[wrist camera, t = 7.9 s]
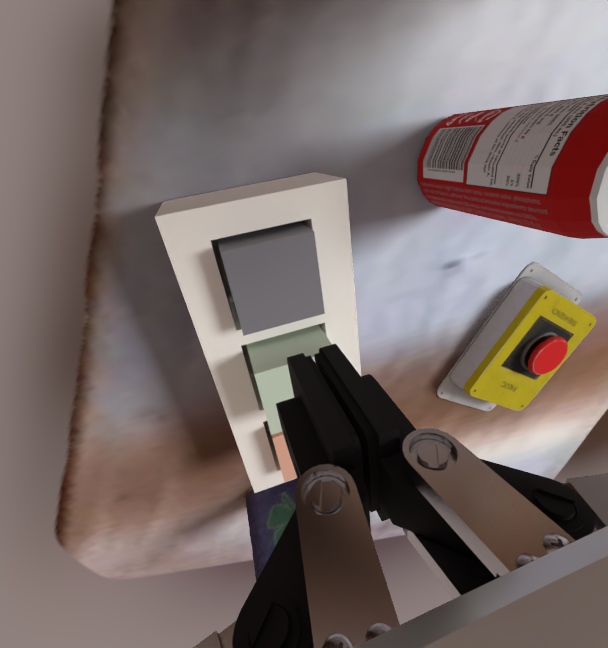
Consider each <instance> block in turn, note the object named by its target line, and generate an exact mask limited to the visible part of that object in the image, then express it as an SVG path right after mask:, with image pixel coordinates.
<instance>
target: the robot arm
mask: <svg viewBox="0 0 608 648" xmlns="http://www.w3.org/2000/svg"><path fill="white" fill-rule="evenodd" d="M314 357H315V362H314V360H313V359H312V357H311V356H306V357H305V355H304V353H301V354H297V355H294V356H290V357H287V363H288V368H289V374H290V379H291V384H292V389H293V394H294V398H291V399H288V400H285V401H282V402H279V403H276V407H277V411H278V416H279V420H280V424H281V428H282V431H283V435H284V438H285V442H286V445H287V448H288V451H289V454H290V457H291V460H292V463H293V466H294V469H295V472H296V475H297V478H298V482H297V485H296V487H295V505H296V509H295V511H294V513H293V514H292V516H291V518H290V520H289V522H288V524H287V526H286V527H285V529H284V531H283V533H282V535H281V537H280V539H279V540H278V542H277V544H276V546H275V548H274V550H273V552H272V553H271V555H270V557H269V559H268V561H267V563H266V565H265V566H264V568H263V570H262V572H261V574H260V576H259V578H258V579H257V581H256V583H255V585H254V587H253V589H252V591H251V593H250V594H249V596H248V598H247V600H246V602H245V604H244V605H243V607H242V609H241V611H240V614H239V616H238V619H237V620H236V621H235V622H234V623H232V624H231V625H230V626H228V627H227V628H226V629H224V630H223V631H222V632H220V633H219V634H218V633H217V631H215V632H213V633H212V634H211V635H209V636H208V637H207V638H205V639H204V640H203V641H201V642H200V643H199V644H197V645H196V646H195V647H193V648H608V473H606V474H599V475H591V476H584V477H576V478H569V479H567V480H566V483H563V484H562V483H560V482H557V481H555V480H552V479H549V478H546V477H542V476H539V475H535V474H531V473H528V472H524V471H521V470H517V469H514V468H510V467H507V466H503V465H500V464H496V463H493V462H489V461H485V460H482V459H479V458H478V457H476V456H475V455H474V454H473V453H472V452H471V451H469V450H468V449H467V448H466V447H465V446H463V445H462V444H461V443H460V442H459V441H458V440H456V439H455V438H454V437H452V436H451V435H449V434H448V433H446V432H443V431H441V430H438V429H431V428H424V429H418V430H416V429H415V428H414V426H413V425H412V424H411V423H410V421H409V420H408V419H407V418H406V417H405V415H404V414H403V413H402V412H401V410H400V409H399V408H398V407H397V405H396V404H395V403H394V402H393V401H392V399H391V398H390V397H389V396H388V394H387V393H386V392H385V391H384V390H383V388H382V387H381V386H380V385H379V383H378V382H377V381H376V380H375V379H374V377H373V376H372V375H369V374H368V375H365V376H362V377H361V376H360V375H359V373H358V372H357V371H356V369H355V368H354V367H353V365H352V364H351V363H350V361H349V360H348V359H347V358H346V356H345V355H344V354H343V352H342V351H341V350H340V348H339V347H338V346H337V345H336V344H332V345H329V346H325V347H322V348H319V353H316V354H315V355H314ZM369 510H370V511H371V512H373V511H377V513H378V515H379V517H380V518H381V520H382V521H384V520H387V519H389V518H390V520H391V522H392V523H393V524H394V525H397V526H399V527H402V528H403V531H404V532H405V534H406V536H407V538H408V539H409V540H410V542H411V543H412V545H413V546H414V547H415V549H416V550H417V551H418V553H419V554H420V555H421V557H422V558H423V559H424V561H425V562H426V563H427V565H428V566H429V568H430V569H431V570H432V571H433V573H434V574H435V575H436V577H437V578H438V580H439V581H440V582H441V584H442V585H443V586H444V588H445V589H446V590H447V592H448V593H449V594H450V596H451V597H452V599H453V600H451V601H449V602H447V603H445V604H443V605H441V606H439V607H436V608H434V609H432V610H430V611H428V612H426V613H424V614H422V615H420V616H418V617H416V618H414V619H412V620H410V621H408V622H405V623H404V624H401V625H400V624H399V621H398V618H397V614H396V611H395V608H394V605H393V602H392V599H391V595H390V592H389V589H388V586H387V583H386V579H385V576H384V573H383V570H382V567H381V564H380V560H379V557H378V554H377V551H376V548H375V545H374V541H373V538H372V535H371V528H370V514H369Z"/></svg>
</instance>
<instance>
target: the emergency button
mask: <svg viewBox="0 0 608 648" xmlns="http://www.w3.org/2000/svg"><path fill="white" fill-rule="evenodd" d="M581 296H582V295H581V293H580V292H579V291H578V290H576V289H575V288H573V287H572V286H571V285H569V284H568V283H566V282H565V281H563V280H562V279H560V278H559V277H558V276H556V275H555V274H553V273H552V272H550V271H549V270H548V269H546V268H545V267H543V266H542V265H540V264H539V263H535V262H533V263H531V264H529V265H527V266H526V267H525V268H524V269H523V271H522V272H521V273H520V275H519V276H518V278H517V279H516V280H515V282H514V283H513V284H512V286H511V287H510V289H509V290H508V291H507V293H506V294H505V296H504V297H503V298H502V300H501V301H500V303H499V304H498V305H497V307H496V308H495V309H494V311H493V312H492V314H491V315H490V316H489V318H488V319H487V321H486V322H485V323H484V325H483V326H482V327H481V329H480V330H479V332H478V333H477V334H476V336H475V337H474V339H473V340H472V341H471V343H470V344H469V346H468V347H467V348H466V350H465V351H464V352H463V354H462V355H461V357H460V358H459V359H458V361H457V362H456V364H455V365H454V366H453V368H452V369H451V371H450V372H449V373H448V375H447V376H446V377H445V379H444V380H443V382H442V383H441V384H440V386H439V388H438V390H437V395H438V396H439V397H440V398H443V399H446V400H449V401H453V402H456V403H459V404H463V405H466V406H470V407H473V408H476V409H480V410H483V411H490V410H492V409H493V408H494V407H495V406H496V405H501V406H504V407H507V408H510V409H513V410H516V411H520V410H522V409H524V408H525V407H526V406H527V405H528V404H529V403H530V402H531V400H532V399H533V398H534V397H535V396H536V394H537V393H538V392H539V391H540V390H541V388H542V387H543V386H544V385H545V384H546V383H547V381H548V380H549V379H550V378H551V377H552V375H553V374H554V373H555V372H556V371H557V369H558V368H559V367H560V366H561V365H562V364H563V362H564V361H565V360H566V359H567V358H568V356H569V355H570V354H571V353H572V352H573V350H574V349H575V348H576V347H577V346H578V345H579V343H580V342H581V341H582V340H583V339H584V337H585V336H586V335H587V334H588V333H589V331H590V330H591V329H592V328H593V326H594V325H595V323H596V318H595V317H594V316H593V315H591V314H590V313H588V312H587V311H585V310H583V309H582V308H580V307H579V306H577V305H578V303H579V302H580V300H581Z"/></svg>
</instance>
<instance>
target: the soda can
mask: <svg viewBox="0 0 608 648" xmlns="http://www.w3.org/2000/svg"><path fill="white" fill-rule="evenodd" d="M417 181H418V183H419V186H420V188H421V191H422V193H423V195H424V196H425V197H426V199H427V200H428V201H429V202H430V203H432V204H434V205H436V206H440V207H444V208H448V209H453V210H457V211H461V212H465V213H470V214H474V215H478V216H482V217H487V218H491V219H495V220H499V221H504V222H508V223H512V224H516V225H521V226H525V227H529V228H533V229H538V230H542V231H546V232H550V233H555V234H559V235H563V236H567V237H573V238H581V239H586V238H608V94H606V95H598V96H591V97H583V98H576V99H568V100H560V101H553V102H545V103H538V104H530V105H523V106H515V107H507V108H500V109H492V110H485V111H477V112H469V113H462V114H454V115H452V116H450V117H448V118H446V119H444V120H442V121H441V122H440V123H439V124H438V125H437V126H436V127H435V128H434V129H433V130H432V132H431V133H430V134H429V136H428V137H427V138H426V141H425V143H424V146H423V148H422V151H421V153H420V156H419V158H418V173H417Z"/></svg>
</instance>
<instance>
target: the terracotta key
mask: <svg viewBox="0 0 608 648" xmlns="http://www.w3.org/2000/svg"><path fill="white" fill-rule="evenodd" d="M271 436H272V439H273V443H274V446H275V450H276V453H277V457H278V461H279V464H280V468H281V471H282V475H283V478H284V482H286V481H289V480H292V479H295V478H297V475H296V472H295V469H294V466H293V463H292V460H291V457H290V454H289V451H288V448H287V445H286V442H285V438H284V435H283V431H282V432H279V433H276V434H273V435H271Z"/></svg>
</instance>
